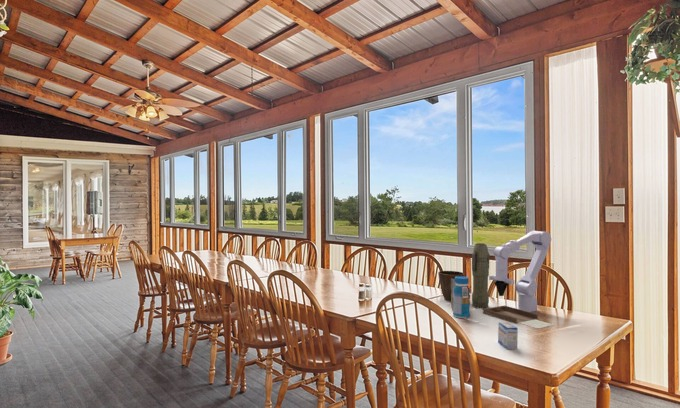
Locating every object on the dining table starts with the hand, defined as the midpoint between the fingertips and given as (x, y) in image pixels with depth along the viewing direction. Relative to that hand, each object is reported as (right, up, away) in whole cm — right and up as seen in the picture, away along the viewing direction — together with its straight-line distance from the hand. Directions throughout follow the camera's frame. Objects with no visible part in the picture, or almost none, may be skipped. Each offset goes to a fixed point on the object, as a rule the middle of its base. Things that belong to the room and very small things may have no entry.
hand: (501, 295), depth 218 cm
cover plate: (+9, -10, -20) cm, 24 cm away
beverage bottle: (-22, -10, -5) cm, 25 cm away
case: (+2, -10, -8) cm, 13 cm away
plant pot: (-18, -9, +31) cm, 37 cm away
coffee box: (-20, -10, +8) cm, 24 cm away
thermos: (-6, -10, +15) cm, 19 cm away
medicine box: (-16, -10, -48) cm, 52 cm away
